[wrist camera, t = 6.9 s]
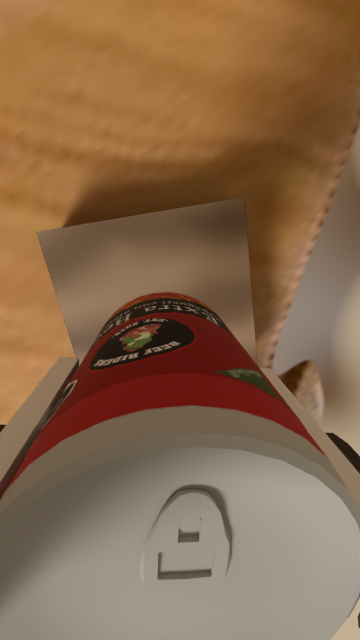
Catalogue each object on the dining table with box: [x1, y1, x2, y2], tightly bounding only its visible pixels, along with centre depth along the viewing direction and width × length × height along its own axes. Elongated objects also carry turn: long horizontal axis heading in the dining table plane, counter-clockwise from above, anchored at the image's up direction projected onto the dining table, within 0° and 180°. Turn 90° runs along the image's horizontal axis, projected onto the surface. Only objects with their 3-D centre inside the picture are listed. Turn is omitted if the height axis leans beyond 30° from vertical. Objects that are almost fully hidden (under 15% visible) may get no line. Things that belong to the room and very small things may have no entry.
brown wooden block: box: [36, 197, 257, 366], centre depth 25 cm, size 16×16×5 cm
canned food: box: [0, 292, 360, 640], centre depth 10 cm, size 8×8×11 cm
